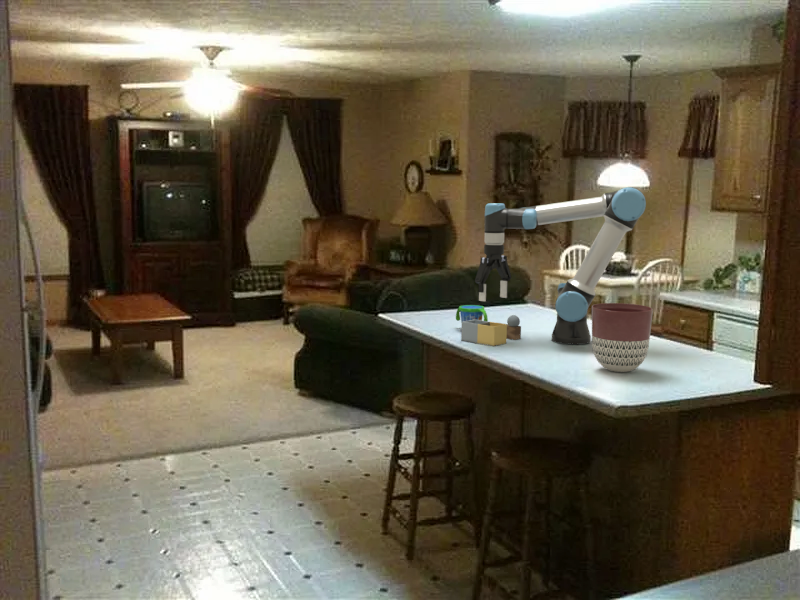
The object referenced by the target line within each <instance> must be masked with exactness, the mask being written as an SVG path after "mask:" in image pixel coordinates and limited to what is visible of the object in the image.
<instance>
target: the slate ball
mask: <svg viewBox="0 0 800 600" xmlns="http://www.w3.org/2000/svg"><path fill="white" fill-rule="evenodd" d="M506 321H507V323H506V324H508V325H509V326H510V327H517V326H520V323H521V320H520V317H519V316H518V315H516V314H515V315H514V314H513V315H510V316H508V317H507V320H506Z"/></svg>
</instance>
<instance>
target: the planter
mask: <svg viewBox="0 0 800 600" xmlns="http://www.w3.org/2000/svg"><path fill="white" fill-rule="evenodd" d="M653 310H654V309H653V308H652V307H651V306H647V305H643V304H634V303H625V302H624V303H623V302H619V303H618V302H605V303H596V304H593V305H591V344H592V345H591V346H592V352H593V354H594V355H593V356H594V357H595V360H596V361H597V362H598V363H599V365H601V366H602V367H603V368H604V369H606V370H607V371H610V372H613V373H614V372H615V373H629V372H632V371H635V370H636V369H638V367H640V366H641V364H643V363H644V361H645V359H646V357H647V354H648V351H649V347H650V339H651V331H652V330H651V329H652V322H653Z"/></svg>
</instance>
